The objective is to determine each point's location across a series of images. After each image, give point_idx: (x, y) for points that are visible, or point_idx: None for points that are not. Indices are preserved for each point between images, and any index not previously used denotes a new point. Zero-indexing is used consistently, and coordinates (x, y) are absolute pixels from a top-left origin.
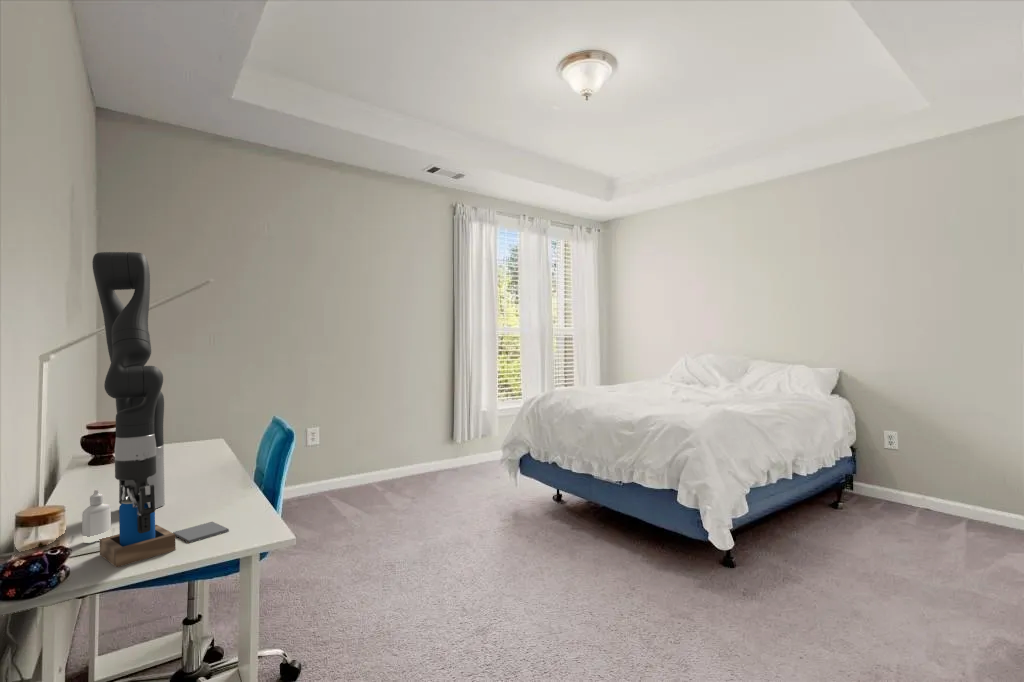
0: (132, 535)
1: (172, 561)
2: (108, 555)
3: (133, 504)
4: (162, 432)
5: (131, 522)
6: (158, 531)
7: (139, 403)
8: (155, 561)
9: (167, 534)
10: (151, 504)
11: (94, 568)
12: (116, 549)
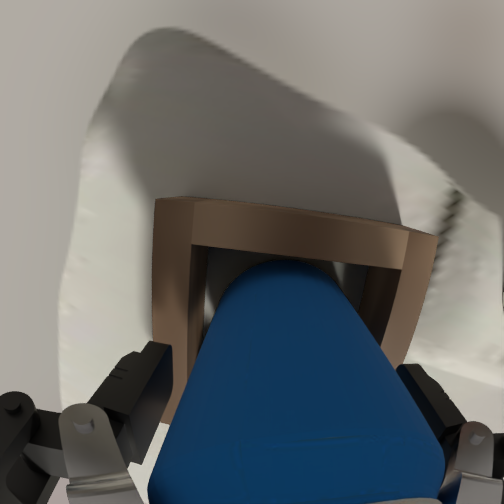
0: (216, 323)
1: (84, 323)
2: (291, 209)
3: (82, 494)
4: None
5: (199, 370)
6: None
7: None
8: (123, 301)
9: None
10: (20, 481)
11: (260, 143)
12: (174, 207)
